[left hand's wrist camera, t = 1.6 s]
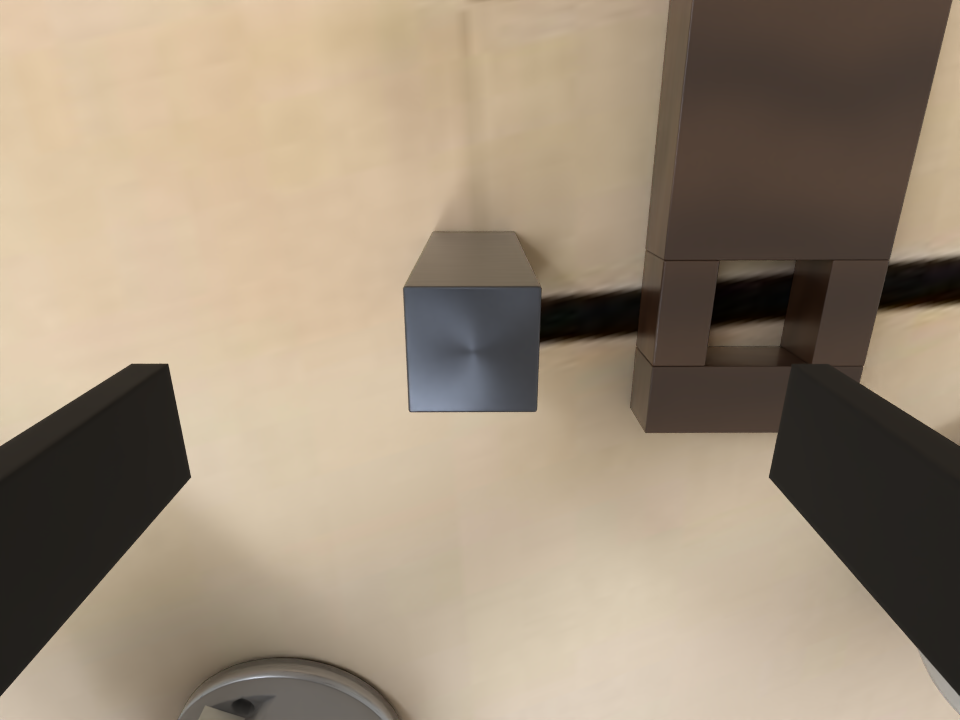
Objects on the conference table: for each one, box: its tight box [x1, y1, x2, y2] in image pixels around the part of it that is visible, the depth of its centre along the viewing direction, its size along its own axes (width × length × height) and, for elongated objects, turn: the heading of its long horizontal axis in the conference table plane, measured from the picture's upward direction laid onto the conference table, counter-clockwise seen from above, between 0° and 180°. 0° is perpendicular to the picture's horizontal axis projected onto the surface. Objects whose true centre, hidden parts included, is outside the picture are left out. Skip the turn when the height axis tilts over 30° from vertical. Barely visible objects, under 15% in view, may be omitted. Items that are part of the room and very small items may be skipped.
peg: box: [403, 232, 542, 412], centre depth 23 cm, size 4×4×12 cm
